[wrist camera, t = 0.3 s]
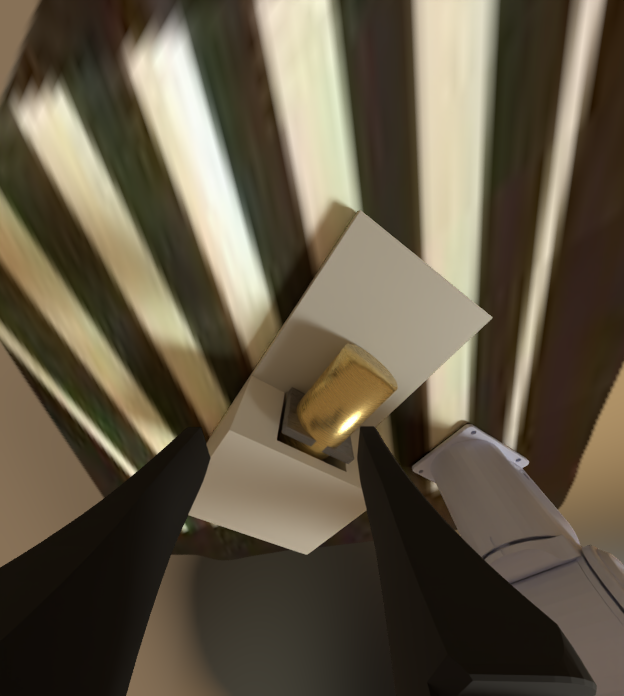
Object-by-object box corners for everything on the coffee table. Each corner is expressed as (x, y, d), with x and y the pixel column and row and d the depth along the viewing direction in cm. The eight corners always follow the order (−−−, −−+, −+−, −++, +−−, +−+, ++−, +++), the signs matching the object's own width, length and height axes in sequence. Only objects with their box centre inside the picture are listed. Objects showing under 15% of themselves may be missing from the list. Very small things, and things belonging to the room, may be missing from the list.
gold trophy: (393, 368, 19) (413, 406, 15) (297, 466, 24) (294, 513, 20) (334, 331, 17) (340, 362, 13) (247, 444, 23) (233, 490, 19)
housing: (482, 312, 18) (569, 358, 12) (308, 479, 27) (306, 554, 21) (357, 211, 15) (387, 202, 9) (209, 437, 24) (173, 510, 18)
